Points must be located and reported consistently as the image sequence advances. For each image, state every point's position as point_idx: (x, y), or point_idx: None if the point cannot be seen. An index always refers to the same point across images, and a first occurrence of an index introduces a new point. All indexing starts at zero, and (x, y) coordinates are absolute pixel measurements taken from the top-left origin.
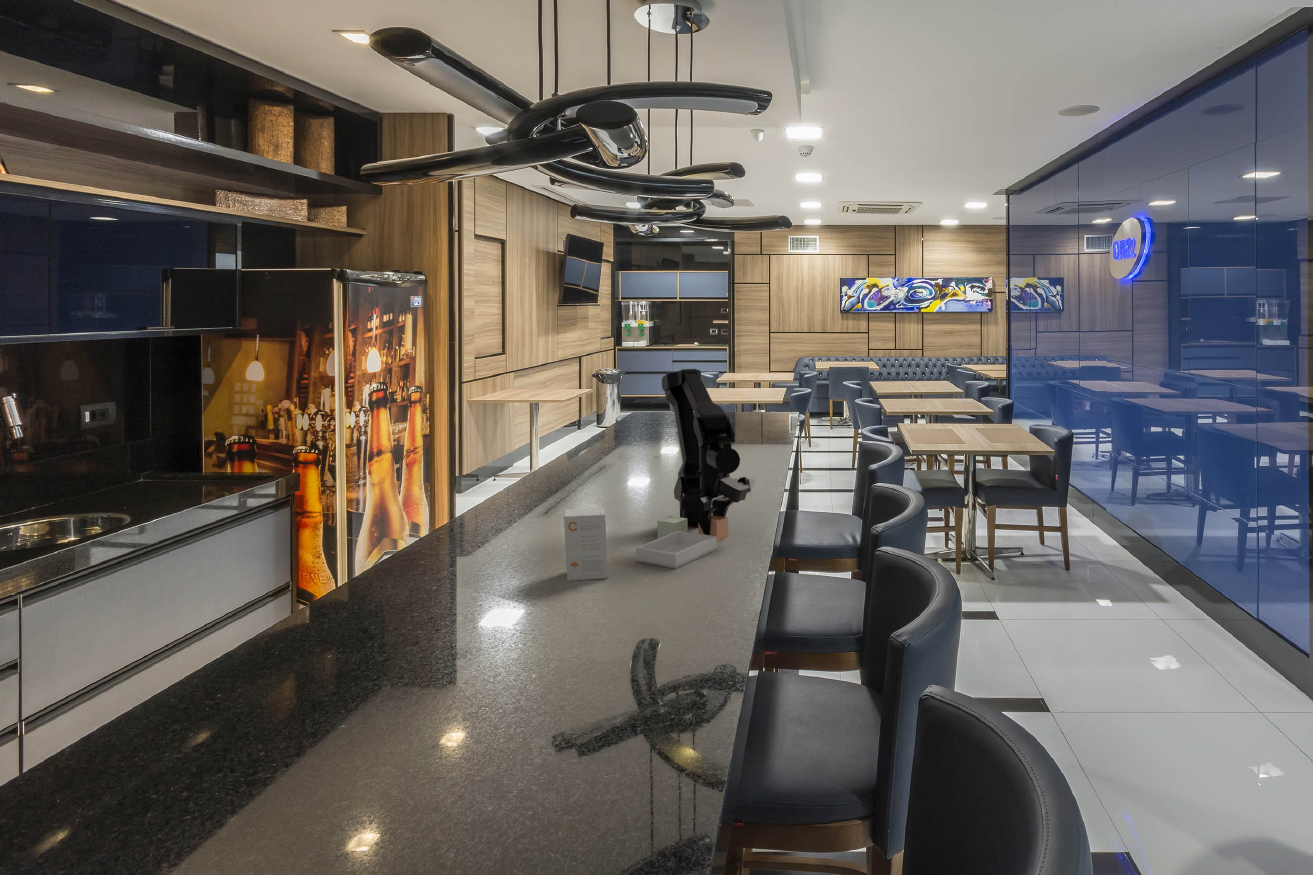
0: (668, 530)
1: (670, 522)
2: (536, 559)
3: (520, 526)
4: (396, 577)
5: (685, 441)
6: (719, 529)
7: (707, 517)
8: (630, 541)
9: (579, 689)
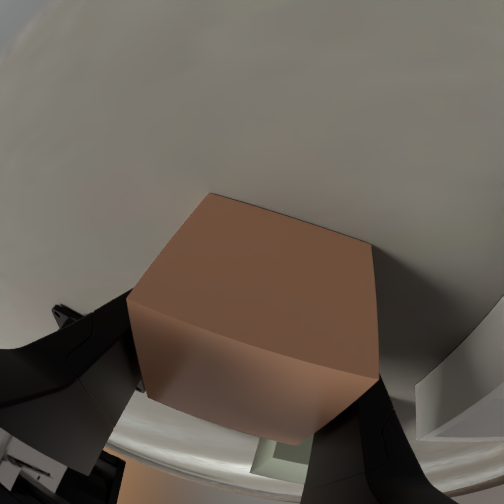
0: None
1: None
2: (468, 473)
3: (284, 492)
4: (485, 487)
5: None
6: (335, 292)
7: (414, 463)
8: None
9: None
